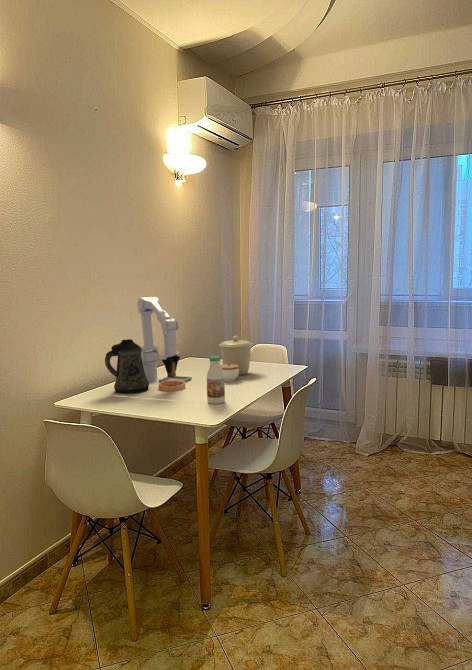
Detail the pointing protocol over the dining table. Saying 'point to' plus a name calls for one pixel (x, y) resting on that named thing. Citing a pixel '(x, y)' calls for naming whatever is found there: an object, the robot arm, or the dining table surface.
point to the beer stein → (128, 368)
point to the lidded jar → (230, 372)
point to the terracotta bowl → (171, 385)
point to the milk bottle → (215, 382)
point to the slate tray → (176, 379)
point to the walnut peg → (173, 373)
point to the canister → (236, 353)
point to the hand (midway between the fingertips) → (171, 371)
